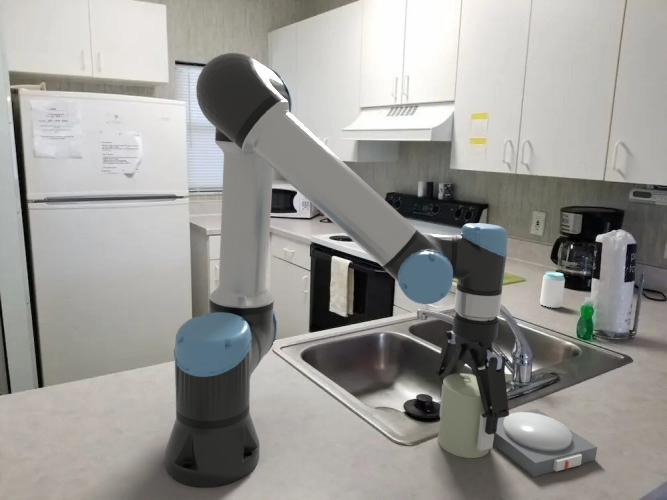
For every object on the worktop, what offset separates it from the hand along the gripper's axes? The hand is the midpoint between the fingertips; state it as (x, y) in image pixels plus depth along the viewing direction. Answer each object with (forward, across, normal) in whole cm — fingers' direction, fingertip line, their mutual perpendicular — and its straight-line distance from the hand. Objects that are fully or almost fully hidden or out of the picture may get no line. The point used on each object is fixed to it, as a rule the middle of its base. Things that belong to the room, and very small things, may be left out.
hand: (464, 431), depth 92 cm
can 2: (+3, +62, -84) cm, 104 cm away
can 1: (+3, 0, 0) cm, 3 cm away
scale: (+2, -5, -12) cm, 13 cm away
